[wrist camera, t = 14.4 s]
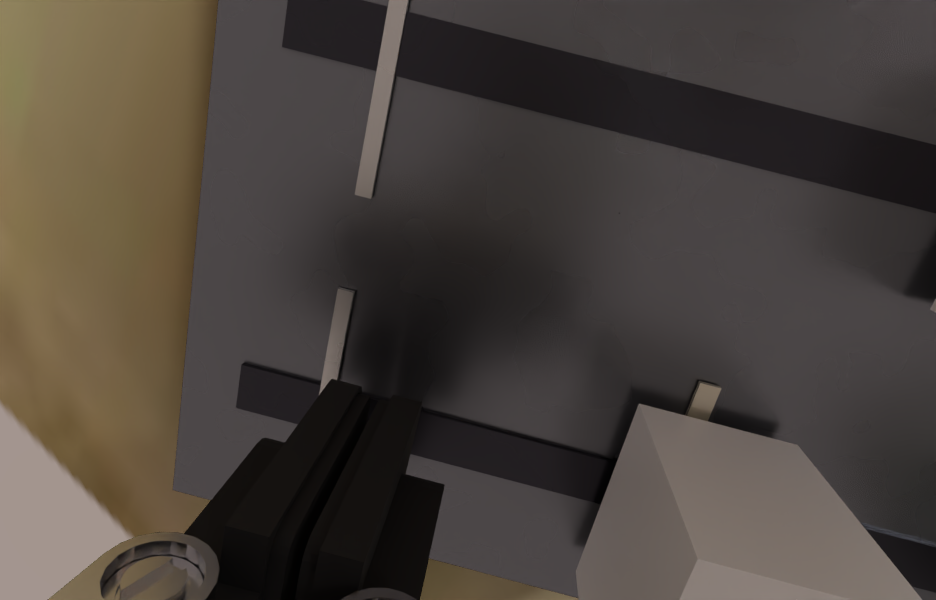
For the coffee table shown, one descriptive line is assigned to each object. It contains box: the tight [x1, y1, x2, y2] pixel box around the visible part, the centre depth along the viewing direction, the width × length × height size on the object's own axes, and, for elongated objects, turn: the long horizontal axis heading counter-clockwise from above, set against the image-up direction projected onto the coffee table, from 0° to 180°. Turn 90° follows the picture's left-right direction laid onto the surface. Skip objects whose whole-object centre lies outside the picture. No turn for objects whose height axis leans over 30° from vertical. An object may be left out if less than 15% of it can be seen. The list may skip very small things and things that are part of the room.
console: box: [173, 0, 936, 600], centre depth 12 cm, size 13×20×2 cm, turn 76°
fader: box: [576, 404, 922, 600], centre depth 10 cm, size 4×3×4 cm
